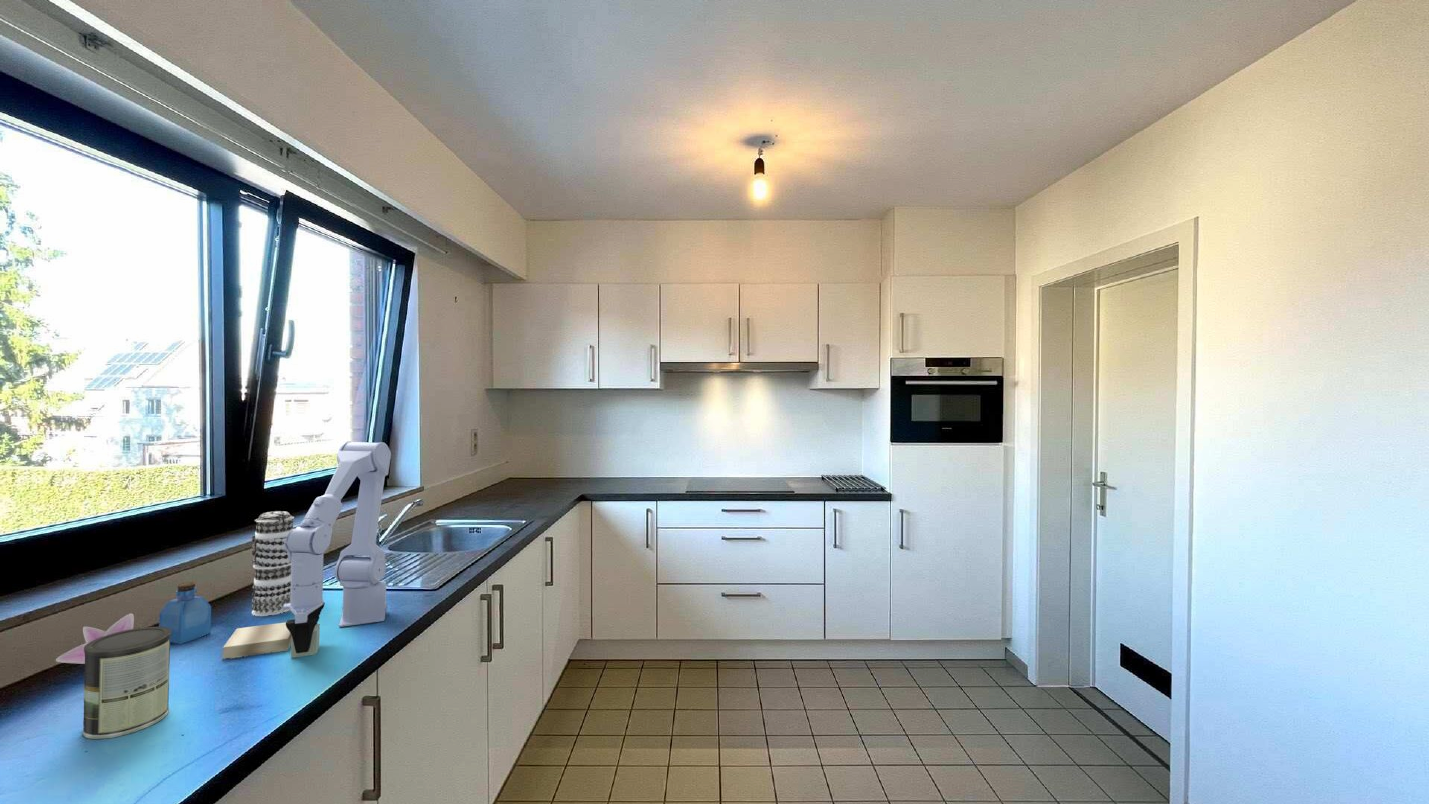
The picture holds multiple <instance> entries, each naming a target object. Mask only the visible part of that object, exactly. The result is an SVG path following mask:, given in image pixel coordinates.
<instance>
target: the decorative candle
mask: <svg viewBox="0 0 1429 804" xmlns="http://www.w3.org/2000/svg"><path fill="white" fill-rule="evenodd" d="M294 519H295V517H294V516H292V515H291V514H290V512H288V511H283V510H282V511H281V510H275V511H267V512H263V513H261V514H260V515H259V516H258V518H256V519H254V522H256V526H255V527H256V531H255V532H254V535H253V536H251V541H252V542H253V544H252V545H251V547H252V551H251V555H252V556H254V557H253V558H252V560H251V561H252V563H253V565H252V568H253V569H255V572H254V573H255V575H254V576H255V577H254V578H253V585H252V587H251V589H252V590H253V591H252V593H251V595H252V596H253V597H252V600H251V603H252V606H251V610H252V611H251V615H252V616H254V615H255V616H254V617H269V616H268V615H272V616H276V615H281V614H284V613H283V612H285V613H287V612H290V610H289V609H285V610H284V609H283V606H284V604H287V603H290V591H291V562H289V560H288V553H287V551H286V550H285V547H284V542H286V538H287V535H288V534H289V532H290V531H291V530H293V529H294ZM280 613H281V614H280Z"/></svg>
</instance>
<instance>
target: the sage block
mask: <svg viewBox="0 0 1429 804" xmlns="http://www.w3.org/2000/svg"><path fill="white" fill-rule="evenodd" d="M320 630H321V623H317V624H316V626H315V628H314V631H313V634H312V639H311V644H310V648H309V651H308V652H304V653H296V651H295V647H294V642H293V638H292V635H291V644H290V658H291V659H292V658H299V657H306V656H312V655H317V654H318V650H319V648H320V635H321V634H320V632H321V631H320Z"/></svg>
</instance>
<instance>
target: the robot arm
mask: <svg viewBox="0 0 1429 804" xmlns="http://www.w3.org/2000/svg"><path fill="white" fill-rule="evenodd" d="M391 457H392V452H391V450H390V447H389V446H388V444H387V443H385V442H383V441H382V442H380V441H379V442H367V441H365V442H364V441H349V440H348V441H345V442H343V443H342V444H341V446H340V448H339V449H338V452H337V454H336V462H337V464H338V465H337V467H336V469H335V471H334V473H333V475H332V478H331V479H330V482H329V484H328V486H327V488H326V490H325V493H324V494H323V495H321V496H317V497H316V498H315V499H314V500H313V503H312V504H311V506H310V507H309V509H308V511H307V513H306V514H305V516H303V519H302V521H301V522H300V524H299V526H296V527H295V528H293V530H291V531H290V532H289V534H288V535H287V538H286V542H284V547H285V550H286V551H287V553H288V560H289V562H291V591H290V603H287V604H284V606H283V609H284V610H285V609H289V612H291V613H292V614H293V615H294V619H287V620H286V627H287V629H288V630H289V632H290V633H291V635H292V638H293V642H294V647H295V651H296V653H304V652H308V651H309V648H310V644H311V639H312V634H313V631H314V628H315V626H316V624H319V620H320V615H321V613H322V610H324V607H325V605H326V604H325V603H326V602H324V598H323V593H324V588H323V587H324V586H323V585H324V553H325V552H326V551H327V549H328V548H329V547H330V544H331V540H332V534H333V531H334V530H333V526H334V524H335V523H336V520H337V518H338V517H339V515H340V513H341V512H342V509H343V503H342V501H341V500H342V499H343V497H344V496H345V495H346V493H347V492H348V490H349V489H350V487H351V486H352V484H353V482H355V480H356V478H357V477H358V479H359V480H360V484H359V490H358V496H357V503H356V509H355V516H354V523H353V530H352V535H351V536H352V537H351V543H350V544H349V545H348V546H346V547H345V548H344V549H342V550H340V553H339V557H338V560H337V563H336V564H335V567H334V577H335V579H336V581H337V582H339V586H341V587H342V615H341V618H340V620H339V622H338V623H339V624H338V627H339V628H341V627H343V628H344V627H351V626H357V625H358V626H359V625H365V624H372V623H373V624H374V623H380V622H384V621H385V619H386V612H387V611H388V603H386V602H387V601H386V600H387V597H386V596H387V581H384V580H382V579H383V578H384V576H385V574H386V572H387V571H386V570H387V564H386V551H385V550H384V549H383V548H382V547H380V546H379V545H378V544H377V534H378V528H379V521H380V520H379V519H380V514H381V506H382V500H383V491H384V485H385V477H386V476H388V475H389V469H390V464H391Z"/></svg>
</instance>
